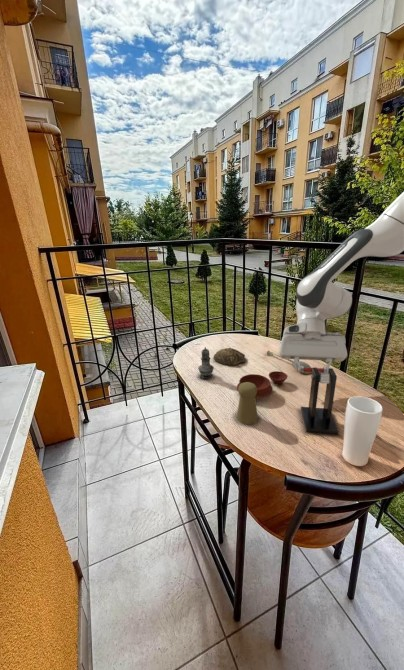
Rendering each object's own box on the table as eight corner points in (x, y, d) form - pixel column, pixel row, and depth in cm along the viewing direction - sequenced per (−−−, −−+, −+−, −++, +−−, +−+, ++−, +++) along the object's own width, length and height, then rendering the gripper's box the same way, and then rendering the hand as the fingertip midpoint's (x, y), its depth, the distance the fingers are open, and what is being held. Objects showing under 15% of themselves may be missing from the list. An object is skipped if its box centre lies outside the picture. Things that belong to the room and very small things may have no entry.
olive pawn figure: (236, 410, 85) (237, 378, 81) (257, 411, 84) (258, 379, 80) (236, 423, 79) (236, 390, 75) (258, 425, 78) (259, 390, 74)
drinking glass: (376, 460, 65) (389, 405, 60) (361, 475, 61) (373, 418, 56) (348, 444, 70) (357, 392, 65) (332, 456, 66) (341, 402, 61)
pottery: (229, 391, 95) (229, 379, 94) (271, 374, 105) (272, 363, 104) (253, 407, 86) (253, 395, 84) (297, 387, 96) (298, 375, 94)
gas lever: (302, 373, 89) (302, 365, 89) (322, 374, 88) (322, 366, 88) (312, 382, 73) (312, 373, 73) (337, 383, 72) (337, 374, 72)
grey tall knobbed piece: (195, 376, 105) (193, 347, 101) (205, 371, 109) (204, 342, 105) (206, 381, 102) (205, 351, 97) (217, 375, 106) (216, 346, 101)
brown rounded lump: (209, 359, 119) (209, 348, 117) (229, 350, 127) (229, 340, 125) (231, 369, 110) (231, 357, 108) (251, 359, 118) (252, 348, 116)
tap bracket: (300, 410, 84) (305, 362, 78) (329, 412, 82) (336, 363, 77) (305, 432, 75) (311, 380, 69) (338, 435, 73) (346, 382, 68)
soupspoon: (303, 377, 103) (315, 373, 106) (305, 369, 102) (316, 365, 105) (262, 355, 121) (273, 352, 124) (263, 348, 119) (274, 345, 123)
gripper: (341, 337, 93) (346, 377, 88) (278, 335, 97) (278, 373, 92) (347, 328, 88) (352, 371, 82) (280, 327, 92) (280, 367, 86)
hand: (313, 372), depth 87 cm, fingers closed on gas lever, 6 cm apart
